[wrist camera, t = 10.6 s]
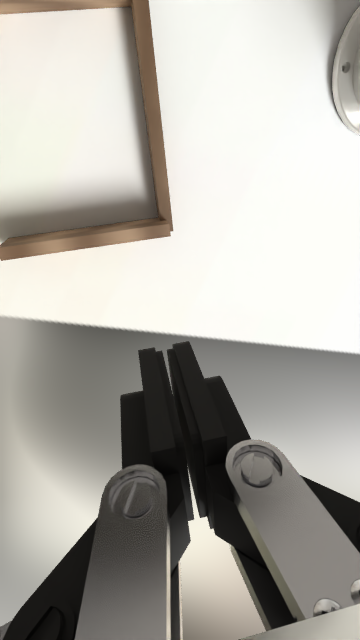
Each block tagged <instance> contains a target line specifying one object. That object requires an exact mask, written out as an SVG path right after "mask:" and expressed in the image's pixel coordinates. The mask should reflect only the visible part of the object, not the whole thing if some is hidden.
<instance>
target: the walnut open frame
mask: <svg viewBox="0 0 360 640" xmlns="http://www.w3.org/2000/svg"><path fill="white" fill-rule="evenodd" d="M115 7H131V9H132V16H133V24H134V32H135V40H136V48H137V56H138V63H139V71H140V79H141V87H142V95H143V103H144V110H145V118H146V126H147V134H148V142H149V150H150V157H151V165H152V173H153V181H154V189H155V197H156V204H157V212H158V218H151V219H144V220H137V221H130V222H122V223H115V224H108V225H100V226H93V227H86V228H79V229H71V230H64V231H57V232H50V233H42V234H35V235H28V236H21V237H13V238H8V239H7V240H6V241H5V242H3V243H2V244H1V245H0V259H1V261H3V260H10V259H16V258H23V257H30V256H37V255H44V254H51V253H58V252H65V251H72V250H78V249H85V248H92V247H99V246H106V245H113V244H120V243H127V242H134V241H140V240H147V239H154V238H161V237H168V236H171V235H170V231H173V224H172V215H171V206H170V196H169V187H168V178H167V169H166V159H165V150H164V141H163V131H162V122H161V113H160V103H159V94H158V85H157V75H156V66H155V57H154V48H153V38H152V29H151V20H150V10H149V1H148V0H0V14H13V13H30V12H47V11H64V10H81V9H98V8H115Z"/></svg>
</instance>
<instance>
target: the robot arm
mask: <svg viewBox="0 0 360 640" xmlns="http://www.w3.org/2000/svg"><path fill="white" fill-rule="evenodd" d="M332 90H333V97H334V103H335V106H336V108H337V111H338V114H339V116H340V117H341V119H342V121H343V123H344V124H345V125H346V126H347V127H348V128H349V129H350V130H351V131H353V132H354V133H356V134H358V135H359V136H360V6H359V7H358V9H357V10H356V11H355V12H354V14H353V16H352V17H351V19H350V21H349V22H348V24H347V26H346V27H345V30H344V32H343V34H342V37H341V39H340V42H339V45H338V48H337V52H336V55H335V59H334V66H333V73H332ZM138 352H139V360H140V368H141V377H142V385H143V391H139V392H134V393H128V394H123V395H121V399H120V401H121V440H122V441H121V442H122V470H120V471H119V472H117V473H116V474H115V475H114V476H113V477H112V478H111V479H110V480H109V482H108V483H107V485H106V486H105V489H104V492H103V494H102V498H101V504H100V509H99V514H98V518H97V519H96V520H95V521H94V523H93V524H92V525H91V526H90V527H89V528H88V529H87V531H86V532H85V533H84V534H83V536H82V537H81V538H80V539H79V540H78V541H77V543H76V544H75V545H74V546H73V547H72V548H71V550H70V551H69V552H68V553H67V554H66V555H65V557H64V558H63V559H62V560H61V562H60V563H59V564H58V565H57V566H56V567H55V569H54V570H53V571H52V572H51V573H50V574H49V576H48V577H47V578H46V579H45V580H44V582H43V583H42V584H41V585H40V586H39V587H38V589H37V590H36V591H35V592H34V593H33V594H32V596H31V597H30V598H29V599H28V600H27V601H26V603H25V604H24V605H23V606H22V607H21V609H20V610H19V611H18V613H17V614H16V616H15V617H14V619H13V620H12V621H10V622H8V623H6V624H5V625H3V626H1V627H0V640H183V634H182V633H183V632H182V602H181V601H182V599H181V567H180V558H181V557H182V555H183V553H184V551H185V550H186V548H187V546H188V545H189V543H190V541H191V540H190V534H189V526H188V521H190V520H193V519H194V515H193V507H192V500H191V491H190V483H189V475H188V470H189V474H190V478H191V482H192V486H193V491H194V495H195V499H196V503H197V508H198V512H199V516H200V518H202V517H206V516H207V518H208V521H209V526H210V529H212V528H214V531H215V535H217V536H218V537H220V538H221V539H223V540H224V541H226V542H227V543H229V546H230V549H231V552H232V555H233V557H234V559H235V561H236V564H237V566H238V568H239V570H240V573H241V575H242V577H243V580H244V582H245V584H246V586H247V588H248V591H249V593H250V595H251V598H252V600H253V602H254V605H255V607H256V609H257V611H258V614H259V616H260V618H261V620H262V623H263V625H264V627H265V630H266V632H263V633H260V634H256V635H253V636H249V637H246V638H243V639H239V640H360V502H358V501H355V500H353V499H351V498H349V497H347V496H344V495H342V494H340V493H338V492H336V491H334V490H331V489H329V488H327V487H325V486H323V485H320V484H318V483H316V482H314V481H312V480H310V479H307V478H305V477H303V476H301V475H299V473H298V472H297V471H296V470H295V468H294V467H293V466H292V464H291V463H290V462H289V460H288V459H287V458H286V456H285V455H284V454H283V453H282V452H281V451H280V450H279V449H278V448H277V447H275V446H274V445H272V444H270V443H268V442H264V441H262V440H251V438H250V436H249V434H248V432H247V430H246V427H245V426H244V424H243V421H242V419H241V417H240V415H239V413H238V411H237V409H236V407H235V405H234V402H233V400H232V398H231V396H230V394H229V392H228V390H227V388H226V386H225V384H224V382H223V380H222V378H221V377H220V376H216V377H211V378H205V379H204V377H203V375H202V372H201V370H200V367H199V365H198V362H197V360H196V357H195V355H194V352H193V350H192V347H191V345H190V343H189V342H182V343H176V344H173V349H168V350H167V355H168V362H169V369H170V377H171V384H172V390H171V386H170V382H169V378H168V373H167V369H166V366H165V361H164V357H163V353H162V351H157V352H156V351H155V348H149V349H143V350H138ZM172 392H173V394H172ZM187 465H188V467H187Z"/></svg>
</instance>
